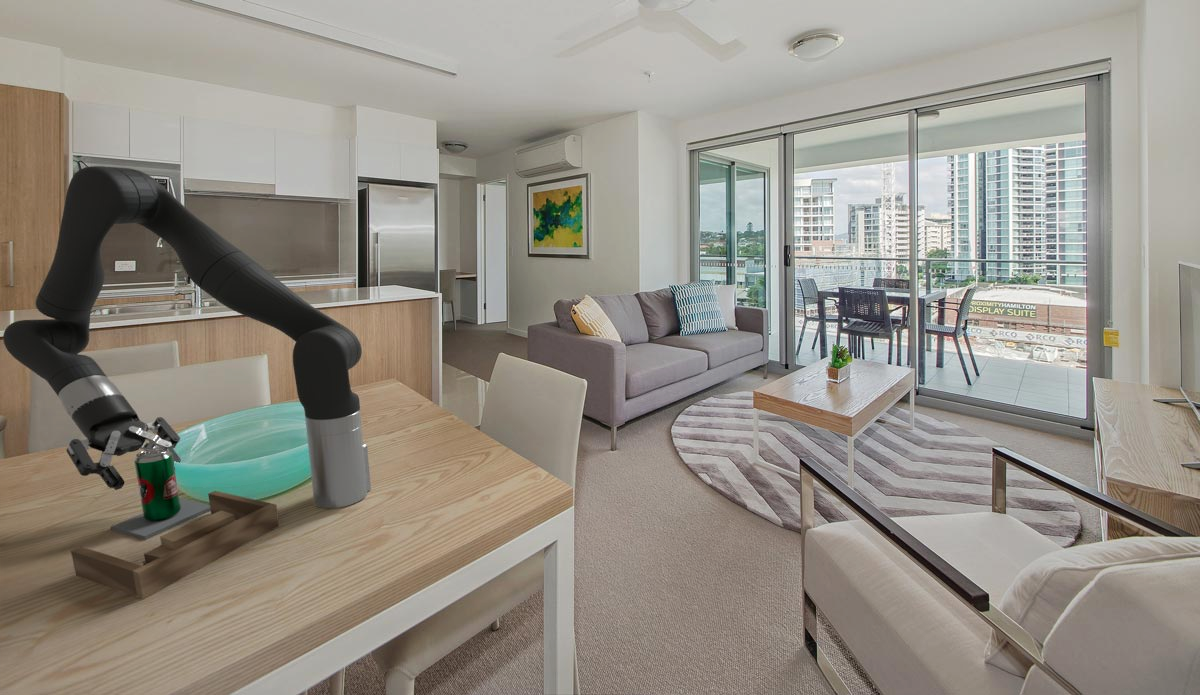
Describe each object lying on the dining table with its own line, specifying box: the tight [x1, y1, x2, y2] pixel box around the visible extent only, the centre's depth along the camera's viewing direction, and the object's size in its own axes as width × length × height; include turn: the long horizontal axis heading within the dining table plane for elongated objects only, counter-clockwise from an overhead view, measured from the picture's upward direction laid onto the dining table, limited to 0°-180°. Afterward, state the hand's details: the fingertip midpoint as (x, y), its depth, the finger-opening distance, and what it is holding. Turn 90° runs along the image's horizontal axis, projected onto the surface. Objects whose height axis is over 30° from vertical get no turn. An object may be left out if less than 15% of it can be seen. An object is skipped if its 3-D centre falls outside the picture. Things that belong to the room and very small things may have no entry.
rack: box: [70, 490, 280, 600], centre depth 82 cm, size 20×15×4 cm
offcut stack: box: [142, 510, 236, 566], centre depth 81 cm, size 12×5×4 cm, turn 160°
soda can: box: [134, 447, 181, 521], centre depth 91 cm, size 5×5×12 cm
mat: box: [110, 497, 211, 540], centre depth 92 cm, size 11×9×1 cm
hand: (149, 476), depth 91 cm, fingers open, 8 cm apart
